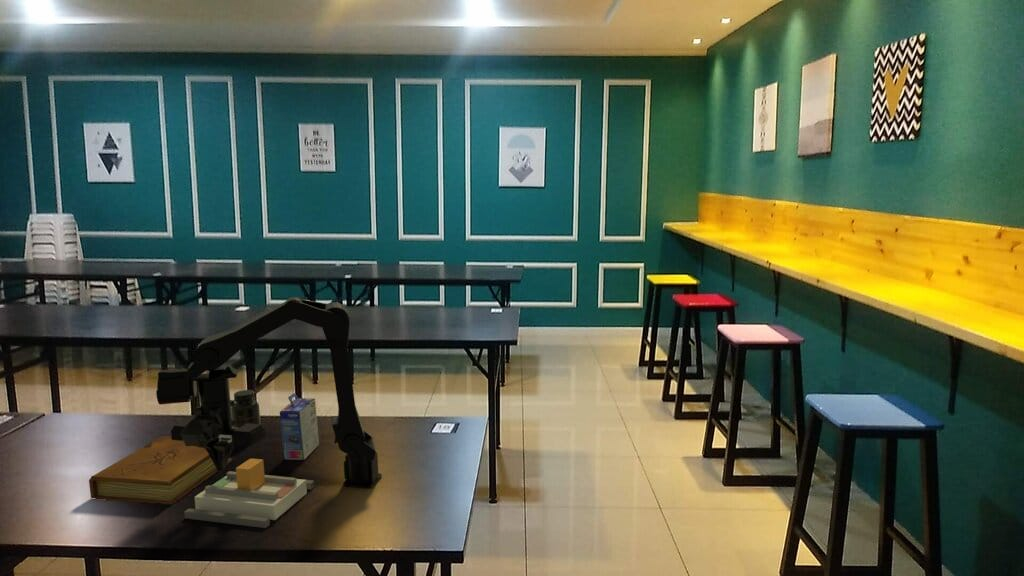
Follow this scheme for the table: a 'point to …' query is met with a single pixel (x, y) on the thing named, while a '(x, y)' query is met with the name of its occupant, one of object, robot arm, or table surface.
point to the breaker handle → (250, 474)
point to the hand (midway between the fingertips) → (221, 471)
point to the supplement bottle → (245, 409)
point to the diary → (154, 473)
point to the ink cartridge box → (299, 428)
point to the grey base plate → (233, 515)
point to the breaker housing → (252, 496)
